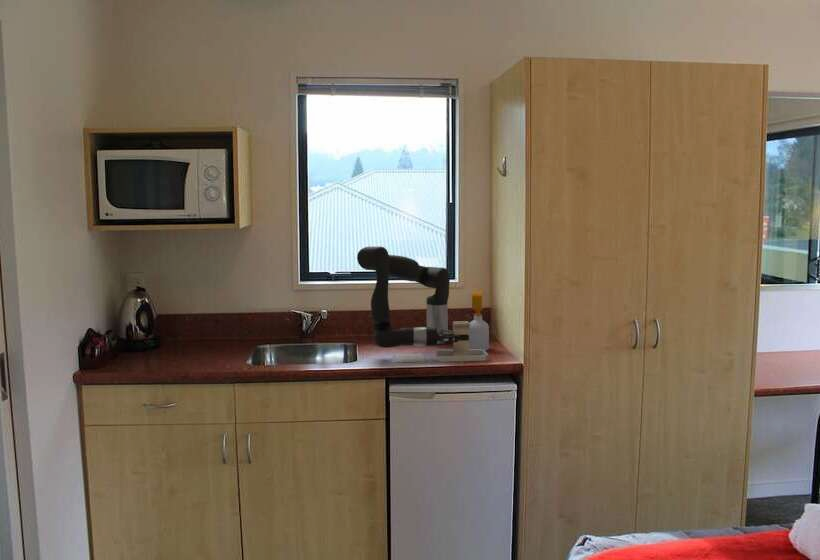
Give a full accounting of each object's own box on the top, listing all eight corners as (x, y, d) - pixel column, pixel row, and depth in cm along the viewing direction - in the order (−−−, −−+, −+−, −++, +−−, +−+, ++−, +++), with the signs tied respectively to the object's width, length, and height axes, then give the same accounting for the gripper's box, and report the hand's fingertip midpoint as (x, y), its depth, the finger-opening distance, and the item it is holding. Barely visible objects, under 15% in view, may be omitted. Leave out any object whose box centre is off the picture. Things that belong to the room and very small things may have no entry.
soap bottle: (490, 347, 272) (490, 290, 269) (486, 352, 264) (487, 293, 261) (469, 346, 275) (469, 289, 272) (465, 351, 266) (465, 292, 263)
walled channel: (436, 354, 260) (436, 349, 260) (484, 353, 261) (484, 348, 261) (438, 361, 249) (438, 356, 249) (488, 360, 250) (488, 355, 249)
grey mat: (394, 355, 260) (394, 354, 260) (424, 354, 261) (424, 353, 260) (395, 362, 248) (394, 361, 248) (425, 361, 249) (425, 361, 249)
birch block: (452, 353, 257) (453, 321, 256) (467, 353, 257) (468, 321, 256) (454, 356, 252) (454, 323, 251) (469, 356, 252) (469, 323, 251)
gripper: (426, 330, 246) (470, 330, 247) (423, 323, 260) (465, 323, 261) (426, 349, 247) (470, 349, 247) (423, 341, 261) (465, 341, 262)
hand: (467, 335), depth 254 cm, fingers closed on birch block, 5 cm apart
